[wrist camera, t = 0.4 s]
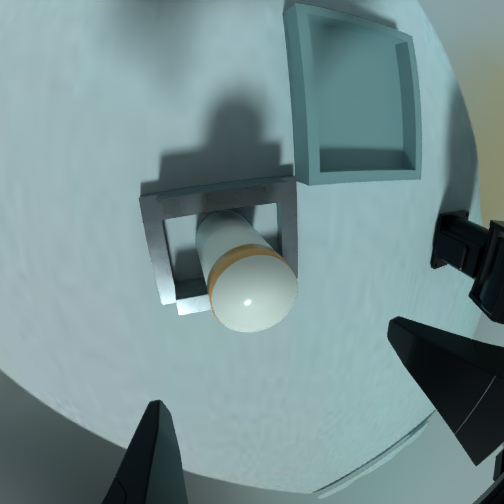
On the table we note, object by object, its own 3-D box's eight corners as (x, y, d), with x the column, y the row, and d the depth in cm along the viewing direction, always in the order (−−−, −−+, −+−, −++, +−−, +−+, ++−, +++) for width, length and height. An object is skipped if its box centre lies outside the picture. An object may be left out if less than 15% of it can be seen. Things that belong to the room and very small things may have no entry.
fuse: (250, 205, 19) (298, 247, 12) (254, 259, 21) (297, 322, 14) (190, 214, 18) (204, 264, 11) (199, 269, 20) (217, 340, 13)
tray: (395, 40, 17) (412, 36, 15) (403, 175, 22) (420, 179, 20) (282, 14, 14) (294, 2, 12) (295, 180, 19) (309, 185, 17)
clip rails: (291, 175, 19) (307, 180, 17) (293, 273, 22) (306, 288, 20) (140, 195, 17) (135, 204, 15) (162, 298, 20) (162, 318, 18)
